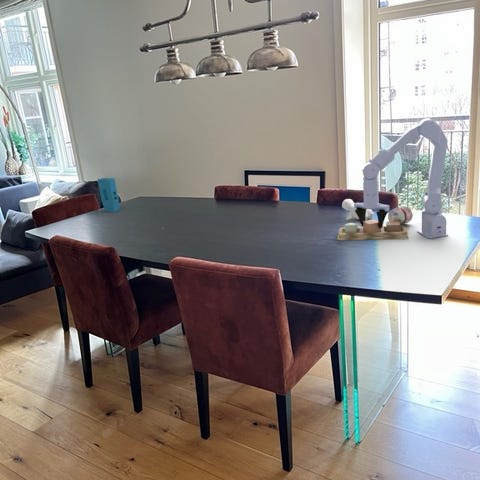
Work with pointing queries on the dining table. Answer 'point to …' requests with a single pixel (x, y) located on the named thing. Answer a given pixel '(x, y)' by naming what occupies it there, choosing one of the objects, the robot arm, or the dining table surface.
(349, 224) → the seated pieces
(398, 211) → the soda can
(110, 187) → the block
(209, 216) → the dining table surface
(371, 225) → the terracotta block
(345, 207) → the white figurine
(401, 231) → the oak tray
